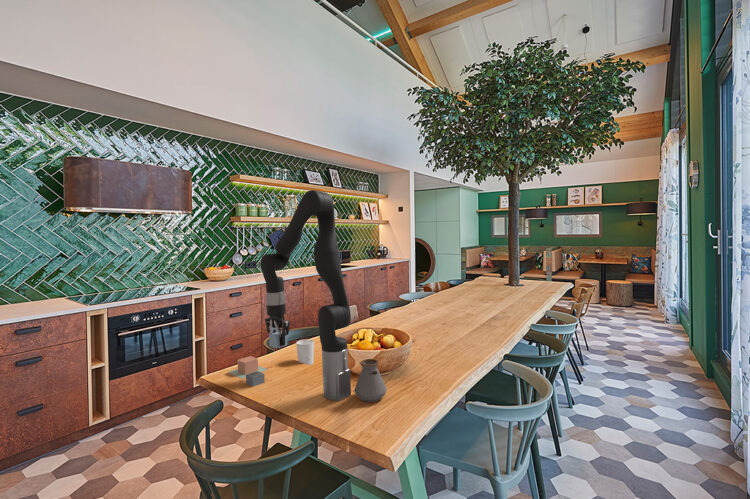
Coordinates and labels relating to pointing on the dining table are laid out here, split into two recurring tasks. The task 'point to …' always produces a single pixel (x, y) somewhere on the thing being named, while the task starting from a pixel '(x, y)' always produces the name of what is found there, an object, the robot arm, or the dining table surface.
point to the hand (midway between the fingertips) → (278, 344)
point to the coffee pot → (370, 382)
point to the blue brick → (276, 340)
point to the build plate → (242, 376)
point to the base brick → (247, 365)
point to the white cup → (305, 351)
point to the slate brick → (255, 378)
